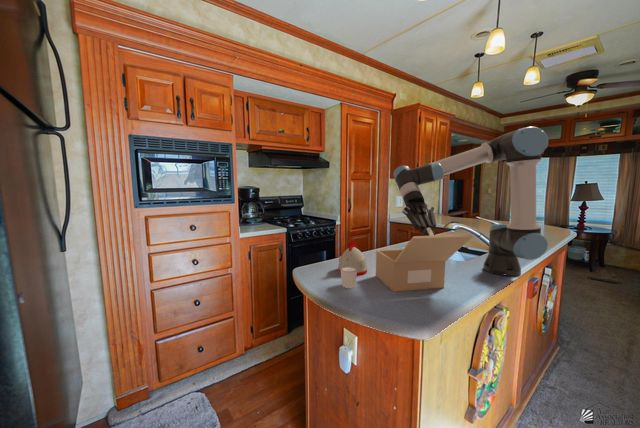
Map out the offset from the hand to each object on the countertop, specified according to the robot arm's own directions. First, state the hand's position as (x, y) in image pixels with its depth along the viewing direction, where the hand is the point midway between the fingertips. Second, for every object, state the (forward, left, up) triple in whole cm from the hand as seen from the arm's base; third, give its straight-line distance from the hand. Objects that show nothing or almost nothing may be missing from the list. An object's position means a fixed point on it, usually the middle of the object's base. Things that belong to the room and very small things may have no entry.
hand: (433, 244), depth 95 cm
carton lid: (+1, -1, -2) cm, 2 cm away
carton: (+15, -9, -20) cm, 27 cm away
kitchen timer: (+40, -1, -21) cm, 45 cm away
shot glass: (+28, +14, -20) cm, 38 cm away
